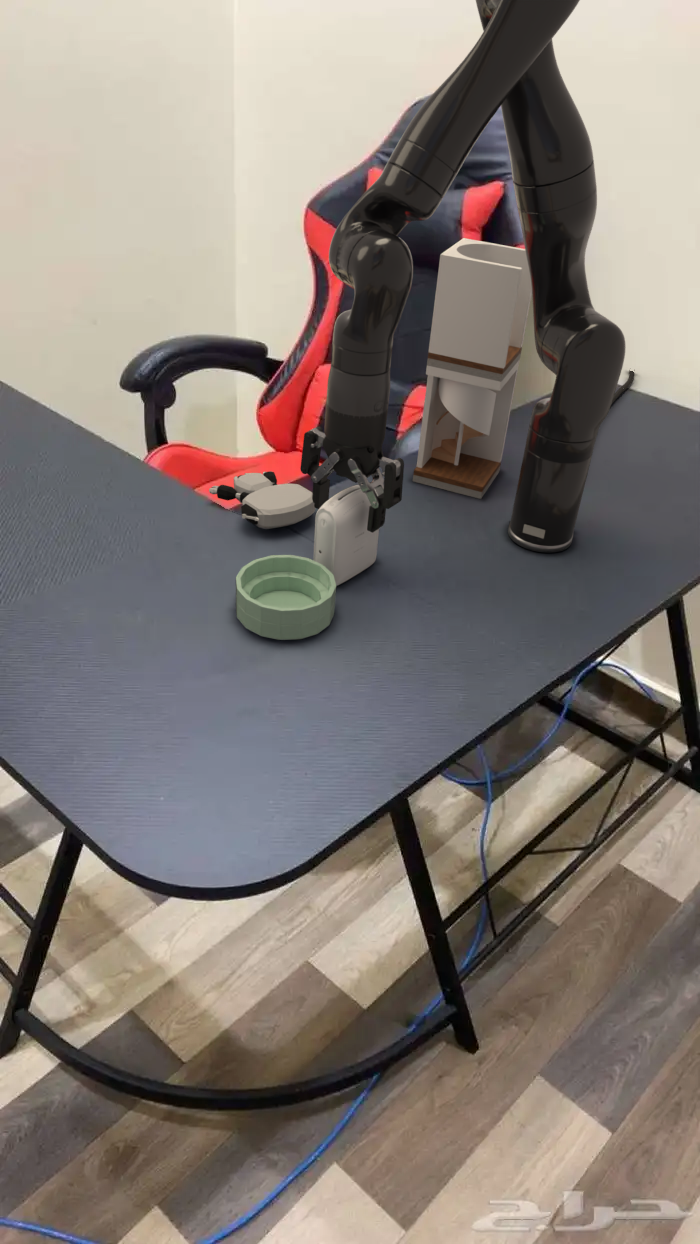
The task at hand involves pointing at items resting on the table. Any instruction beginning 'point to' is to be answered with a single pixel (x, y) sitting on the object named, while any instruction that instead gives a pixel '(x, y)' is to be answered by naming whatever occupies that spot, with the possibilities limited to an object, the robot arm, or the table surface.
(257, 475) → the robot toy
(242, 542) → the table surface
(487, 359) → the white tower
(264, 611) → the bowl
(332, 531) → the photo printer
